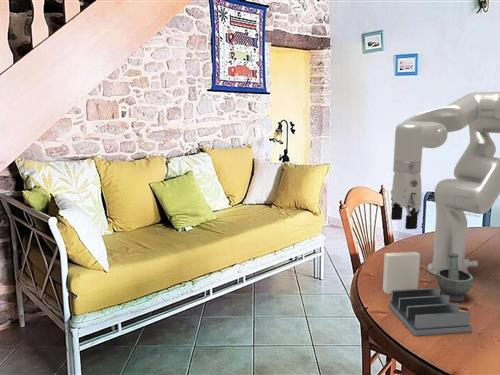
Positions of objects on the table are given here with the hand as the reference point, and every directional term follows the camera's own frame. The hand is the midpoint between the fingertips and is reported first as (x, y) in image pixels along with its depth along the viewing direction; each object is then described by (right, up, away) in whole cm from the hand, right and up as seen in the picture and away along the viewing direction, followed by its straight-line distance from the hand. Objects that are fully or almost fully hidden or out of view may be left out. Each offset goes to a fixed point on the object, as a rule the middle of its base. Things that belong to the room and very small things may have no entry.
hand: (403, 224), depth 131 cm
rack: (+2, -24, -12) cm, 27 cm away
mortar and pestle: (+15, -22, +1) cm, 26 cm away
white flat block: (0, -21, +5) cm, 21 cm away
